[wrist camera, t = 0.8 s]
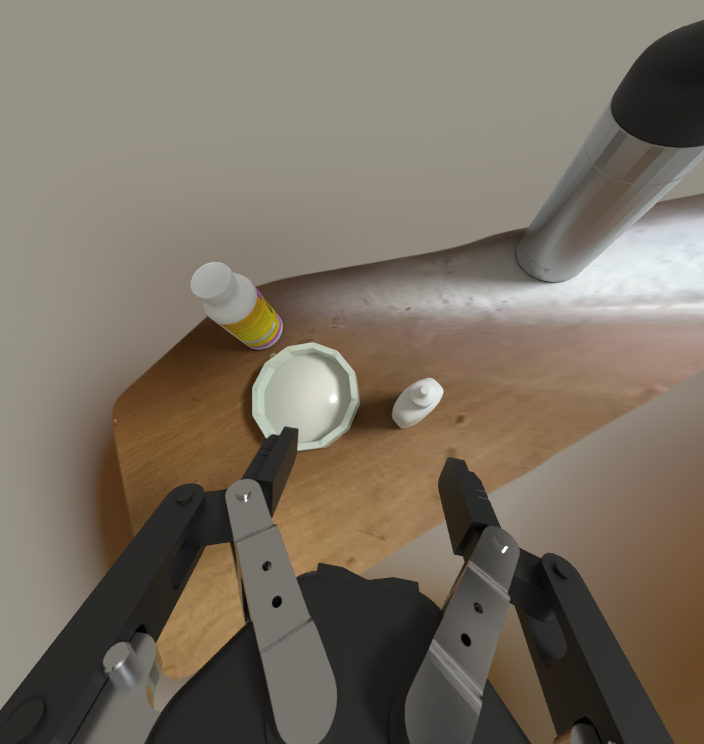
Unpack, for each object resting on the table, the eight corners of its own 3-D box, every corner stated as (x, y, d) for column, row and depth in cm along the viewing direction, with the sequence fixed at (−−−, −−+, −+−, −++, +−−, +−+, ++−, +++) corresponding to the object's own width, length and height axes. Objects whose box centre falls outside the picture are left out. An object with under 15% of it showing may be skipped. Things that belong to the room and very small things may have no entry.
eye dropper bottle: (387, 397, 35) (387, 372, 24) (429, 389, 35) (450, 360, 23) (394, 430, 34) (398, 420, 22) (437, 422, 34) (464, 408, 22)
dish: (320, 332, 39) (316, 324, 37) (379, 405, 35) (379, 402, 33) (243, 389, 38) (234, 385, 36) (294, 472, 34) (287, 473, 32)
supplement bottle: (292, 326, 40) (251, 273, 28) (263, 359, 39) (207, 318, 27) (263, 304, 42) (213, 244, 30) (234, 334, 41) (170, 286, 29)
